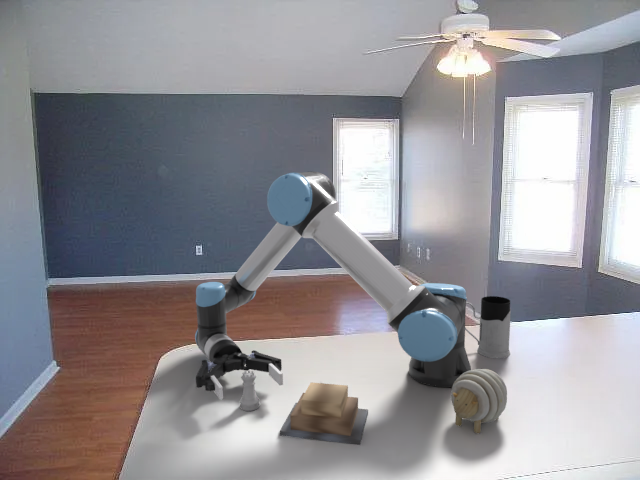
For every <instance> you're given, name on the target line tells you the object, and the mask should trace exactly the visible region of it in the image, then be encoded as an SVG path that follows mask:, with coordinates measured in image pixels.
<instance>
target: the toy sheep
mask: <svg viewBox="0 0 640 480" xmlns="http://www.w3.org/2000/svg"><path fill="white" fill-rule="evenodd" d="M450 400H451V403H452V404H451V405H452V406H453V410H454V413H455V420H454V422H455V424H454V425H456V426H457V427H461V426H462V425H463V419H464V420H467V421H469V422H471V423H473V431H474V433H475V434H480V433H481V428H482V425H481V424H483V423H491V422H494V421H497V420H499V418H500V417H501V415H502V413H503V412H504V411H505V409H506V408H507V407H506V406H507V403H508V389H507V386H506V383H505V381H504V379H503V378H502V377H501V376H500V375H499V374H498V373H497V372H495V371H493V370H491V369H488V368H482V369H481V368H475V369H471V370H470V371H467V372H464V373H463V374H462V375H460V377H459V378H457V379H456V381H455V382H454V384H453V386H452V387H451V391H450Z"/></svg>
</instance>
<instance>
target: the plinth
mask: <svg viewBox="0 0 640 480" xmlns="http://www.w3.org/2000/svg"><path fill="white" fill-rule="evenodd" d="M368 416H369V409H367V408H360V407H359V397H354V396H349V386H348V385H347V384H346V385H345V384H335V383H333V384H332V383H323V382H310V383H309V385H308V386H307V389H306V390H305V392H302V394H301V395H300V397H299V400H298V401H297V402H295V403H294V404H293V407H292V409H291V411H290V412H289V414H288V415H287V417H286V420H285V421H284V422H283V424H282V427H281V428H280V430H279V437H288V438H289V437H290V438H298V439H305V440H306V439H307V440H316V441H317V440H318V441H326V442H334V443H343V444H352V445H361V442H362V438H363V435H364V430H365V427H366V424H367V423H366V422H367V418H368Z"/></svg>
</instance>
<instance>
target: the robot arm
mask: <svg viewBox="0 0 640 480" xmlns="http://www.w3.org/2000/svg"><path fill="white" fill-rule="evenodd" d="M336 195H337V194H336V188H335V185H334V183H333V181H332V180H331V178H329V177H328V176H327V175H325V174H323V173H321V172H318V171H313V170H312V171H311V170H310V171H305V172H288V173H286V174H283V175H280V176H279V177H277V178H276V179H275V180H274V181H273V182H272V183H271V185H270V187H269V189H268V191H267V197H266V199H267V201H266V202H267V203H266V204H267V209H268V212H269V215H270V216H271V217H272V219H273V220H274V221H275V222H276V223H275V225H273V227H272V228H271V230H270V231H268V233H267V234H266V235H265V237H264V238H263V239H262V241H260V243H259V244H258V245H257V247H256V248H255V249H254V250H253V251H252V252H251V254H250V255H249V256H248V257H247V259H246V260H245V262H243V264H242V265H241V266H240V268H239V269H238V270H237V272H235V274H234V275H233V277H231V279H230V280H228V282H225V284H224V283H222V282H219V281H208V282H207V281H206V282H203V283H200V284H198V285H197V286H196V287H195V288H196V290H195V295H196V296H195V305H196V307H195V308H196V316H197V317H196V318H197V319H196V320H197V329H196V331H195V334H194V339H195V343H196V346H197V347H198V349H199V350H200V351H201V352H202V353H203V354H204V355H205V357H206V359H207V360H206V359H203V360H201V366H200V368H199V370H198V372H197V373H196V375H195V384H196V386H195V388H196V389H201V388H202V387H203V386H205V387H204V388H205V391H207V392H208V391H209V392H214V394H215V395H216V396H217V398H218V400H223V399H224V390H223V389H224V387H223V385H222V384H221V383H220V381H219V380H218V379H220V378H221V377H224V376H225V375H226V373H230V372H234V371H244V372H245V371H246V372H248V371H258V372H264V373H268V375H269V376H270V378H271V379H273V380H274V382H276V384H277V385H278V386H283V385H284V377H283V376H284V374H283V372H282V370H283V368H282V367H283V366H282V359H281V358H278V357H276V356H275V357H274V356H271V355H268V354H264V353H261V352H259V351H257V350H255V349H254V350H252V351H251V353H250V354H246V353H243V351H242V350H241V348H240V347H239V346H238V345H237V343H235V341H233V339H232V338H231V337H230V336H228V333H227V313H230V312H231V311H233V310H236V309H237V308H239V307H241V306H244V305H246V304H248V303H249V302H251V300H253V299H254V298H255V296H256V294H257V290H258V289H259V287H260V286H261V285H263V283H264V282H265V280H266V279H268V276H270V275H271V273H272V272H273V271H274V270H275V269H276V268H277V267H278V265H279V264H280V263H281V262H282V260H284V258H285V257H286V256H287V255H288V253H289V252H290V251H291V250H292V249H293V248H294V246H295V245H296V244H297V243H298V242H299V241H300V240H301V238H303V239H312V240H314V241H315V242H316V243H317V244H318V245H319V246H320V247H321V248H322V249H323V250H324V251H325V252H326V253H327V254H328V255H329V256H330V257H331V258H332V259H333V260H334V261H335V263H337V264H338V265H339V266H340V267H341V268H342V269H343V270H344V271H345V272H346V273H347V274H348V275H349V276H350V277H351V278H352V279H353V280H354V281H355V283H357V284H358V285H359V287H360V288H362V289H363V291H365V292H366V293H367V295H368V296H370V297H371V298H372V299H373V300H374V302H376V303H377V304H378V305H379V306H380V307H381V308H382V309H383V311H385V312H386V313H385V314H386V322H387V324H388V325H389V326H390V327H391V328H392V329H393V330H394V331H395V332H396V333H397V339H398V342H399V345H400V347H401V349H402V350H403V351H404V352H405V353H406V354H407V355H408V356H409V357H411V358H410V361H409V363H408V373H409V376H410V377H411V378H412V379H413V380H415V381H416V382H418V383H420V384H424V385H426V386H431V387H436V388H452V386H453V384H454V382H455V381H456V379H457V378H459V377H460V375H462V374H463V373H464V372H467V371H470V370H472V366H471V363H470V360H469V357H468V353H467V349H466V347H465V346H466V345H465V342H466V341H465V339H466V338H465V337H466V330H465V328H466V315H467V314H466V309H467V303H466V302H468V298H467V291H466V289H465V288H464V287H463V286H461V285H456V284H450V283H449V284H448V283H438V282H437V283H436V282H434V283H433V282H430V283H421V284H419V285H414V284H413V283H412V282H411V281H410V280H409V279H408V278H407V277H406V276H405V275H404V274H402V272H401V271H400V270H399V269H397V268H396V267H395V266H394V264H393V263H391V261H389V260H388V259H387V258H386V257H385V256H384V255H383V254H382V253H381V252H380V251H379V250H378V249H377V248H376V247H375V246H374V245H373V244H372V243H371V242H370V241H369V240H368V239H367V238H366V237H365V236H364V235H363V234H362V233H361V232H360V231H358V229H357V228H356V227H355V226H354V225H352V223H351V222H349V220H347V219H346V218H345V217H344V216H343V215H342V214H341V213H340V210H339V209H340V208H339V202H338V201H337V200H336Z"/></svg>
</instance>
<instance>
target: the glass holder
mask: <svg viewBox="0 0 640 480" xmlns="http://www.w3.org/2000/svg"><path fill="white" fill-rule="evenodd" d="M480 301H481V302H480V303H481V304H480V316H477V315H476V309H475V306H474V305H473V304H472V302H469V301H466V305H470V306H471V308H472V311H473V317H474V318H475V319H479V333H478V334H479V336H478V337H479V338H477V337H476V336H475V335H474V334H473V333H472V332H470V330H468V328H466V327H465V332H467V333H468V334H469V335H470V336H471V337H472V338H474V339H475V341H476V342H477V345H478V347H477V349H476V351H477V353H478V354H479V355H480V356H484V357H487V358H490V359H505V358H508V357H510V356H511V352H510V329H511V313H512V312H511V300H510V299H509V298H507V297H503V296H498V295H497V296H495V295H493V296H492V295H487V296H483V297H481V300H480Z"/></svg>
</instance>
